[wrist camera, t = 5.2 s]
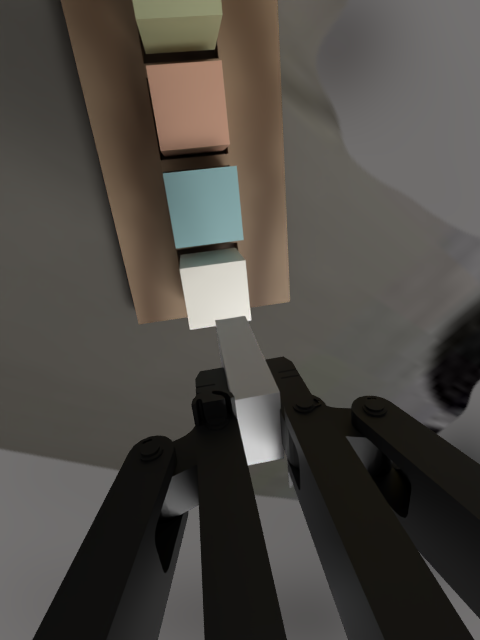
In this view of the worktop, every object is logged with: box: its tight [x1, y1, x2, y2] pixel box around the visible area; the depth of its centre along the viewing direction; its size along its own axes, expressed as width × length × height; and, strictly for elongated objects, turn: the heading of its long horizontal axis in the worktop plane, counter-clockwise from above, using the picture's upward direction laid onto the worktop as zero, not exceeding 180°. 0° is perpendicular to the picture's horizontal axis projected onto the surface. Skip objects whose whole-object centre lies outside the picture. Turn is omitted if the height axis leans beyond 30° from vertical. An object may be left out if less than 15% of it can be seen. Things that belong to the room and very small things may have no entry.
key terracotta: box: [146, 60, 230, 157], centre depth 23 cm, size 5×5×5 cm
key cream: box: [180, 248, 251, 330], centre depth 26 cm, size 5×5×5 cm
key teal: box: [163, 166, 244, 248], centre depth 24 cm, size 5×5×5 cm
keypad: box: [61, 0, 290, 324], centre depth 26 cm, size 14×25×2 cm, turn 6°
